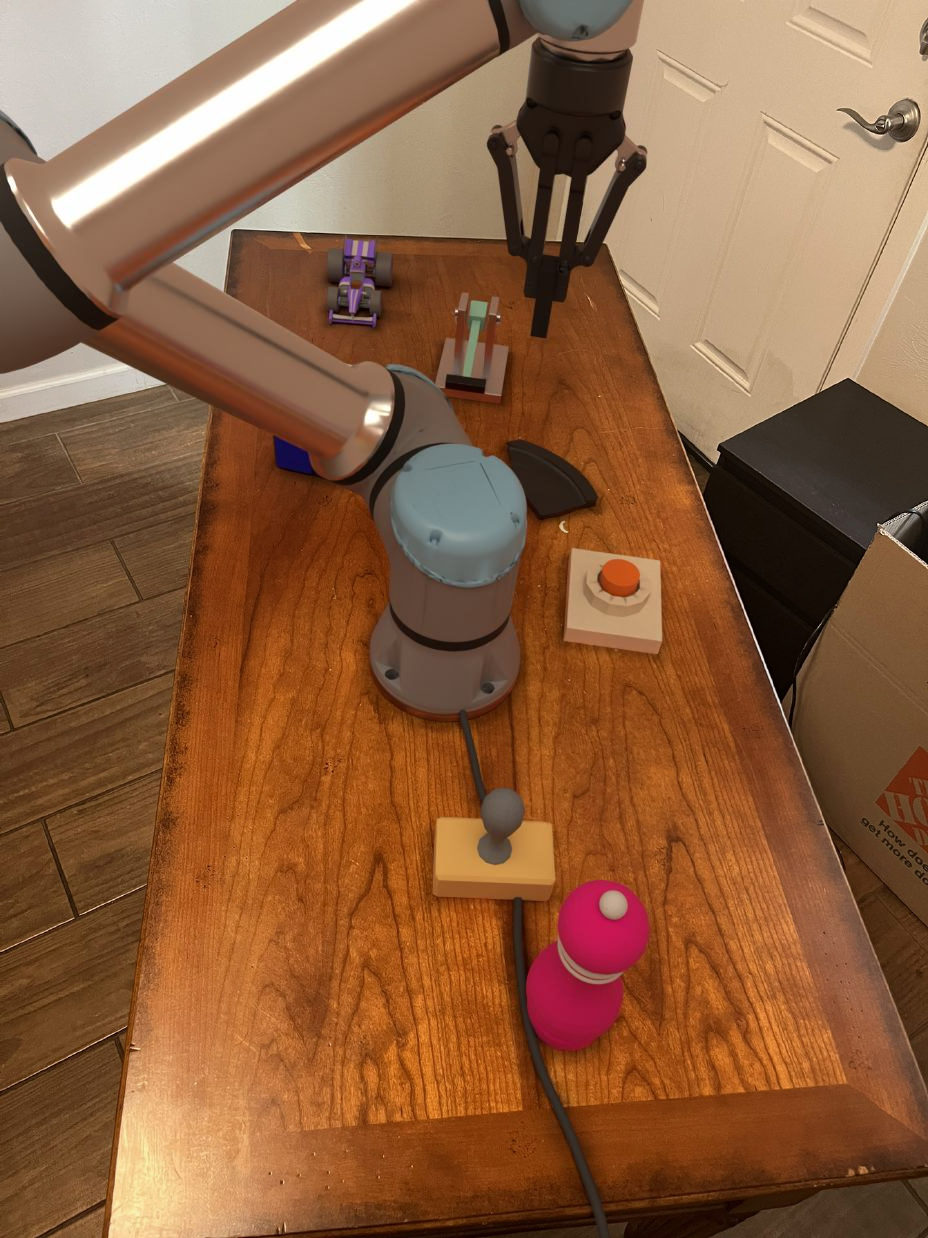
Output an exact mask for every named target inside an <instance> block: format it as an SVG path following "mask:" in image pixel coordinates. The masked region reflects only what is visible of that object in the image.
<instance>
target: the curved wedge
mask: <svg viewBox="0 0 928 1238" xmlns="http://www.w3.org/2000/svg"><path fill="white" fill-rule="evenodd" d="M504 444H506V446H507V453H508V455H509V457H510V458H509V459H510V464H511V470H512V471H513V472H514V474H515V475H516V476H517V478H518V479H519V481H520V483H521V485H522V488H523V490H524V493H525V497H526V503H527V506H528V507H529V508H530V509H531V510H532V513H534V514H535V515H536V517H537V519H539V520H544V519H549V518H554V517H560V516H563V515H566V514H569V513H572V512H575V511H577V510H580V509H584V508H593V507H595V506H597V501H598V499H599V497H600V496H598V494H597V492H596V490H595V488H594V487H593V485H592V483H591V482H590V481H589V480H588V478H587V477H586V476H585V475H584V474H583V473H582V472H581V471H580V470H579V469H578V468H577V467H575V466H574V465H573V464H572V463H570V462H569V461H568V460H566V459H565V458H563V457H561V456H560V455H558V454H556V453H555V452H552V451H551V450H549V449H547V448H545V447H543V446H540V445H538V444H535V443H533V442H530V441H528V440H524V439H521V438H519V439H515V440H509V441H506V442H504Z"/></svg>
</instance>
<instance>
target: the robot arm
mask: <svg viewBox="0 0 928 1238" xmlns="http://www.w3.org/2000/svg"><path fill="white" fill-rule="evenodd" d="M644 4H645V0H295V1H293V2H291V3H290V4H289V5H287V6H286V7H284V8H282V9H280V10H279V11H277V12H276V13H275V14H273V15H272V16H270V17H268V18H267V19H266V20H264V21H262V22H261V23H259V24H257V25H256V26H254V27H253V28H251V29H250V30H248V31H246V32H245V33H244V34H242V35H241V36H239V37H237V38H236V39H235V40H233V41H231V42H229V43H228V44H227V45H225V46H224V47H222V48H221V49H219V50H217V51H216V52H214V53H213V54H211V55H209V56H208V57H206V58H205V59H203V60H202V61H200V62H199V63H197V64H195V65H194V66H193V67H191V68H190V69H188V70H186V71H184V72H183V73H182V74H180V75H178V76H177V77H176V78H174V79H173V80H170V81H169V82H168V83H167V84H164V85H163V86H162V87H160V88H159V89H157V90H155V91H154V92H152V93H151V94H150V95H148V96H146V97H144V98H143V99H141V100H139V102H137V103H135V104H133V105H132V106H131V107H129V108H127V109H126V110H125V111H123V112H121V113H120V114H118V115H117V116H115V117H114V118H112V119H110V120H109V121H107V122H106V123H105V124H103V125H100V126H99V127H98V128H97V129H95V130H93V131H92V132H90V133H88V134H87V135H86V136H85V137H83V138H81V139H80V140H78V141H76V142H75V143H74V144H71V146H69V147H67V148H65V149H64V150H62V151H60V153H58V154H57V155H55V156H53V157H52V158H50V159H48V160H45V159H44V158H42V157H40V156H39V155H38V152H37V150H36V148H35V146H34V144H33V143H32V141H31V139H30V138H29V137H28V135H27V134H26V133H25V132H24V131H23V130H22V128H20V126H18V124H17V123H16V122H15V121H14V120H13V119H12V118H11V117H10V116H9V115H8V114H7V113H5V112H4V111H3V110H1V109H0V375H4V374H9V373H12V372H16V371H20V370H24V369H26V368H29V367H32V366H34V365H37V364H40V363H42V362H45V361H47V360H49V359H52V358H54V357H56V356H58V355H60V354H62V353H64V352H66V351H68V350H71V349H73V348H74V347H76V346H77V345H79V344H83V345H85V346H87V347H89V348H90V349H93V350H95V351H97V352H99V353H101V354H103V355H106V356H108V357H110V358H111V359H114V360H116V361H118V362H119V363H122V364H124V365H126V366H129V367H130V368H132V369H134V370H137V371H138V372H141V373H143V374H145V375H146V376H149V377H152V378H153V379H156V380H158V381H159V382H162V383H164V384H166V385H168V386H170V387H172V388H174V389H176V390H178V391H180V392H182V393H185V394H186V395H188V396H191V397H192V398H195V399H197V400H199V401H201V402H203V403H205V404H207V405H210V406H212V407H214V408H215V409H217V410H220V411H222V412H223V413H226V414H228V415H230V416H232V417H235V418H236V419H239V420H240V421H243V422H245V423H247V424H249V425H251V426H253V427H255V428H258V429H259V430H261V431H264V432H266V433H267V434H270V435H272V436H273V435H274V436H276V437H278V438H280V439H282V440H284V441H286V442H288V443H290V444H293V445H295V446H297V447H299V448H301V449H303V450H305V451H307V452H308V455H309V459H310V462H311V465H312V467H313V469H314V470H315V472H316V473H317V474H319V475H320V476H319V477H321V478H322V479H325V480H327V481H329V482H332V483H334V484H336V485H338V486H340V487H342V488H344V489H346V490H348V491H351V492H352V493H354V494H356V495H357V496H359V497H360V498H361V499H362V500H363V501H364V503H365V506H366V508H367V510H368V512H369V514H370V517H371V519H372V522H373V524H374V526H375V529H376V531H377V533H378V535H379V537H380V540H381V541H382V544H383V546H384V549H385V552H386V554H387V558H388V562H389V591H388V592H389V594H388V595H389V599H388V602H387V604H386V606H385V608H384V610H383V612H382V614H381V615H380V618H379V619H378V621H377V623H376V624H375V627H374V629H373V632H372V634H371V637H370V642H369V652H368V653H369V654H368V655H369V657H368V658H369V660H368V661H369V669H370V674H371V676H372V679H373V682H374V684H375V685H376V687H377V688H378V690H379V691H380V693H381V694H382V695H383V696H384V697H385V698H386V699H387V700H388V701H389V702H391V703H392V704H393V705H394V706H396V707H397V708H398V709H400V710H402V711H403V712H406V713H408V714H410V715H412V716H415V717H418V718H421V719H423V720H424V719H425V720H429V721H433V722H434V721H435V722H447V723H448V722H449V723H450V722H460V724H461V729H462V732H463V737H464V741H465V745H466V749H467V754H468V758H469V762H470V767H471V773H472V777H473V782H474V785H475V788H476V789H475V790H476V793H477V795H478V799H479V801H480V805H482V804H483V801H484V798H485V797H486V796H487V795H488V794H487V792H486V789H485V785H484V781H483V777H482V773H481V768H480V763H479V759H478V754H477V750H476V745H475V742H474V738H473V733H472V730H471V726H470V722H469V720H471V719H474V718H477V717H481V716H483V715H485V714H487V713H489V712H491V711H492V710H494V709H496V708H498V706H499V705H501V704H502V703H503V702H504V701H505V700H506V699H507V698H508V697H509V695H510V694H511V692H512V691H513V689H514V688H515V685H516V683H517V680H518V678H519V677H518V676H519V671H520V667H521V666H520V665H521V661H522V660H521V659H522V653H521V647H520V640H519V638H518V634H517V630H516V628H515V624H514V621H513V617H512V615H511V612H512V607H513V602H514V596H515V591H516V585H517V580H518V575H519V570H520V569H519V568H520V562H521V559H522V552H523V551H524V548H525V545H526V540H527V539H526V538H527V533H528V531H527V530H528V520H527V515H528V504H527V503H526V497H525V493H524V490H523V488H522V485H521V483H520V481H519V479H518V478H517V476H516V475H515V474H514V472H513V471H512V468H511V467H509V465H508V464H506V463H505V462H504V461H503V460H502V459H500V458H499V457H497V456H496V455H494V454H492V455H489V456H484V454H485V453H484V450H483V449H481V448H479V447H476V446H474V444H473V443H472V441H471V439H470V438H469V436H468V435H467V433H466V431H465V429H464V427H463V426H462V424H461V423H460V421H459V419H458V418H457V415H456V412H455V410H454V407H453V405H452V404H451V402H450V400H449V399H448V397H445V394H444V393H443V392H442V391H441V390H440V389H439V388H438V387H437V386H436V385H435V382H434V381H432V380H431V379H430V378H429V376H427V375H425V374H424V373H423V372H421V371H420V370H418V369H415V368H412V367H410V366H406V365H403V364H396V363H388V364H386V366H384V365H382V364H380V363H377V362H374V361H370V360H369V361H367V360H366V361H365V360H364V361H359V362H358V363H355V364H352V365H353V366H351V367H350V366H349V365H347V364H348V363H345V362H344V361H343V360H340V359H339V358H336V357H335V356H334V355H332V354H330V353H328V352H326V351H325V350H323V349H321V348H319V347H318V346H316V345H315V344H313V343H311V342H310V341H308V340H306V339H304V338H303V337H301V336H299V335H298V334H296V333H294V332H292V331H291V330H290V329H287V328H286V327H284V326H282V325H280V324H279V323H277V322H275V321H274V320H272V319H270V318H269V317H267V316H265V315H264V314H262V313H260V312H258V311H257V310H255V309H253V308H252V307H250V306H248V305H246V304H245V303H243V302H241V301H240V300H238V299H236V297H235V298H234V297H233V296H231V295H230V294H228V293H226V292H225V291H223V290H221V289H219V288H218V287H216V286H215V285H213V284H211V283H209V282H207V281H206V280H204V279H202V278H201V277H199V276H197V275H196V274H194V273H193V272H190V271H188V270H187V269H186V268H183V266H180V265H179V264H176V263H175V262H176V261H177V260H179V259H180V258H182V257H184V256H185V255H186V254H188V253H190V252H191V251H193V250H195V249H197V248H198V247H199V246H201V245H203V244H204V243H206V242H207V241H209V240H210V239H212V238H213V237H215V236H217V235H218V234H220V233H221V232H223V231H224V230H226V229H228V228H229V227H231V226H232V225H234V224H235V223H237V222H239V221H240V220H242V219H244V218H245V217H247V216H248V215H250V214H251V213H254V211H257V209H260V207H262V206H264V205H266V204H267V203H269V202H270V201H271V200H273V199H275V198H277V197H278V196H280V195H281V194H283V193H286V191H288V190H289V189H291V188H292V187H294V186H296V185H297V184H299V183H300V182H302V181H304V180H305V179H306V178H309V177H310V176H311V175H313V174H314V173H316V172H318V171H319V170H321V169H322V168H324V167H326V166H327V165H329V164H330V163H332V162H334V161H336V160H337V159H338V158H340V157H341V156H343V155H344V154H346V153H348V152H349V151H351V150H352V149H354V148H356V147H357V146H359V145H360V144H362V143H363V142H365V141H366V140H369V139H370V138H372V137H373V136H374V135H376V134H378V133H379V132H382V130H384V129H386V128H387V127H388V126H390V125H392V124H394V123H395V122H396V121H398V120H400V119H401V118H403V117H405V116H406V115H408V114H409V113H411V112H412V111H414V110H415V109H417V108H418V107H419V108H420V106H422V105H424V104H425V103H427V102H428V101H430V100H431V99H433V98H434V97H437V96H438V95H439V94H441V93H443V92H444V91H446V90H447V89H449V88H451V87H452V86H454V85H456V83H458V82H460V81H462V80H463V79H464V78H467V77H468V76H469V75H471V74H472V73H474V72H476V71H477V70H478V69H480V68H482V67H484V66H485V65H487V64H488V63H490V62H492V61H493V60H495V59H496V58H498V57H500V56H502V55H504V54H505V53H506V52H508V51H510V50H512V49H514V48H516V47H518V46H520V45H521V44H523V43H524V42H526V41H527V40H529V39H530V38H532V37H534V36H536V35H537V37H536V38H535V39H534V41H533V42H532V43H531V49H530V57H529V67H528V74H527V83H526V92H525V99H524V102H523V104H521V107H520V108H519V110H518V112H517V116H516V119H515V120H513V121H511V122H509V123H507V124H505V125H501V124H496V125H495V124H494V126H492V127H491V130H490V133H489V135H488V138H487V140H486V148H487V150H488V152H489V155H490V156H491V159H492V160H493V162H494V165H495V166H496V171H497V177H498V185H499V192H500V193H499V194H500V200H501V208H502V216H503V222H504V223H503V224H504V230H505V238H506V246H507V252H508V254H509V255H510V256H512V257H520V258H521V259H523V260H524V262H525V263H526V271H525V278H524V287H523V294H524V297H525V298H527V299H528V298H530V299H533V300H535V301H534V306H533V307H534V308H533V313H532V321H531V327H530V333H529V337H533V338H538V339H547V337H548V331H549V326H550V322H551V321H550V320H551V314H552V308H553V303H554V302H556V303H562V304H564V303H565V301H566V299H567V296H568V292H569V291H568V290H569V284H570V278H571V273H572V271H573V269H575V268H576V267H580V266H582V267H584V268H589V267H592V266H593V264H594V263H595V261H596V259H597V257H598V255H599V252H600V250H601V248H602V246H603V244H604V241H605V239H606V237H607V235H608V233H609V231H610V228H611V226H612V224H613V222H614V220H615V218H616V216H617V213H618V211H619V209H620V207H621V204H622V203H623V201H624V198H625V196H626V194H627V192H628V190H629V187H630V186H631V185H632V184H634V182H635V181H636V180H637V179H638V178H639V177H640V176H641V175H642V174H643V173H644V172H645V171H646V169H647V163H648V148H647V147H646V146H644V145H642V144H639V145H637V144H636V143H635V142H634V141H632V140H631V139H630V137H628V135H627V134H626V131H627V125H626V120H625V118H624V109H625V103H626V98H627V92H628V87H629V82H630V79H631V78H630V77H631V71H632V66H633V61H634V55H633V53H632V51H631V49H630V48H632V47H634V46H635V45H636V43H637V40H638V34H639V30H640V26H641V25H640V24H641V20H642V19H641V18H642V14H643V9H644ZM520 137H521V139H522V141H523V143H524V145H525V148H526V150H527V151H528V153H529V155H530V156H531V159H532V160H533V163H534V164H535V166H536V167H537V168H538V169H539V172H538V179H537V188H536V189H537V190H536V197H535V204H534V210H533V219H532V225H531V233H530V237H528V236H526V232H525V224H524V223H525V222H524V214H523V206H522V197H521V187H520V181H519V180H520V179H519V178H520V177H519V172H518V161H517V156H516V154H517V152H518V149H519V147H520V141H519V138H520ZM615 151H617V155H616V156H615V160H614V167H615V170H614V173H613V175H612V178H611V180H610V182H609V184H608V186H607V188H606V191H605V193H604V195H603V198H602V199H601V202H600V204H599V207H598V209H597V210H596V213H595V216H594V218H593V220H592V222H591V225H590V227H589V229H588V230H587V233H586V236H585V238H584V240H583V242H582V243H579V244H576V243H577V237H578V231H579V226H580V219H581V213H582V207H583V203H584V197H585V190H586V185H587V178H588V176H590V175H592V174H593V173H595V172H596V171H597V170H598V169H599V168H600V167H601V166H602V165H603V164H604V163H605V162H606V161H607V160H608V159H609V157H611V156H612V154H613V153H614V152H615ZM558 175H565V176H567V177H569V178H570V183H569V190H568V196H567V203H566V209H565V215H564V223H563V228H562V229H563V230H562V234H561V242H560V249H559V252H558V253H559V254H558V255H551V254H544V253H545V247H546V242H547V241H546V240H547V234H548V227H549V221H550V213H551V207H552V201H553V193H554V187H555V182H556V181H555V180H556V176H558ZM512 913H513V914H512V915H513V918H512V919H513V920H512V938H513V939H512V940H513V953H514V963H515V973H516V983H517V992H518V1000H519V1005H520V1012H521V1018H522V1023H523V1024H522V1025H523V1027H524V1032H525V1037H526V1041H527V1044H528V1048H529V1051H530V1055H531V1058H532V1061H533V1064H534V1067H535V1070H536V1073H537V1075H538V1078H539V1080H540V1083H541V1085H542V1088H543V1090H544V1092H545V1094H546V1097H547V1098H548V1101H549V1103H550V1105H551V1107H552V1109H553V1111H554V1113H555V1116H556V1118H557V1120H558V1122H559V1125H560V1127H561V1129H562V1131H563V1134H564V1136H565V1138H566V1140H567V1143H568V1146H569V1148H570V1151H571V1153H572V1156H573V1159H574V1161H575V1164H576V1165H575V1166H576V1168H577V1170H578V1173H579V1175H580V1177H581V1181H582V1183H583V1186H584V1189H585V1192H586V1194H587V1197H588V1200H589V1204H590V1206H591V1209H592V1213H593V1216H594V1220H595V1224H596V1228H597V1232H598V1238H611V1235H610V1229H609V1224H608V1221H607V1217H606V1214H605V1213H606V1212H605V1210H604V1206H603V1203H602V1200H601V1197H600V1194H599V1192H598V1189H597V1186H596V1183H595V1180H594V1178H593V1175H592V1172H591V1170H590V1168H589V1165H588V1162H587V1160H586V1156H585V1155H584V1152H583V1151H584V1150H583V1148H582V1146H581V1144H580V1141H579V1138H578V1135H577V1134H576V1132H575V1129H574V1126H573V1125H572V1122H571V1120H570V1118H569V1115H568V1114H567V1111H566V1109H565V1107H564V1105H563V1102H562V1101H561V1099H560V1097H559V1094H558V1092H557V1090H556V1088H555V1086H554V1084H553V1082H552V1079H551V1077H550V1075H549V1071H548V1069H547V1067H546V1065H545V1061H544V1058H543V1055H542V1052H541V1048H540V1045H539V1042H538V1038H537V1035H536V1034H535V1030H534V1027H533V1025H532V1023H531V1020H530V1018H529V1014H528V1010H527V994H526V982H527V974H526V966H525V956H524V946H523V900H522V898H521V897H515V898H514V900H513V912H512Z"/></svg>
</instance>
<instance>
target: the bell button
mask: <svg viewBox="0 0 928 1238" xmlns="http://www.w3.org/2000/svg"><path fill="white" fill-rule="evenodd" d="M639 578H640V572H639V570H638V568H637V567H636V566H635V565H634V564H633V563H631V562H629V561H627V560H623V559H613V560H610V561H608V562H606V563H605V564H604V566H603V568H602V572H601V576H600V580H599V582H600V586H601V588H602V589H603V590H604V591H605V592H607V593H609V594H610V595H612V596H617V597H627V596H630V595H632V594H633V593H634V592H635V590H636V588H637V585H638V582H639Z"/></svg>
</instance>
